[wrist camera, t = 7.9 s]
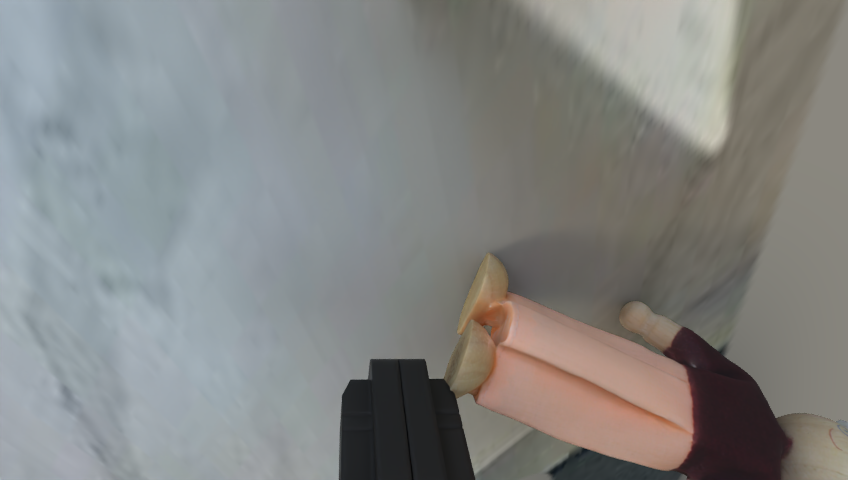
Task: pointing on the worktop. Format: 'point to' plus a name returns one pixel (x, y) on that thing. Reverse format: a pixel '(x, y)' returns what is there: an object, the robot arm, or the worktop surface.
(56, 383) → the worktop surface
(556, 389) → the grandmother figurine
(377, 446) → the robot arm
